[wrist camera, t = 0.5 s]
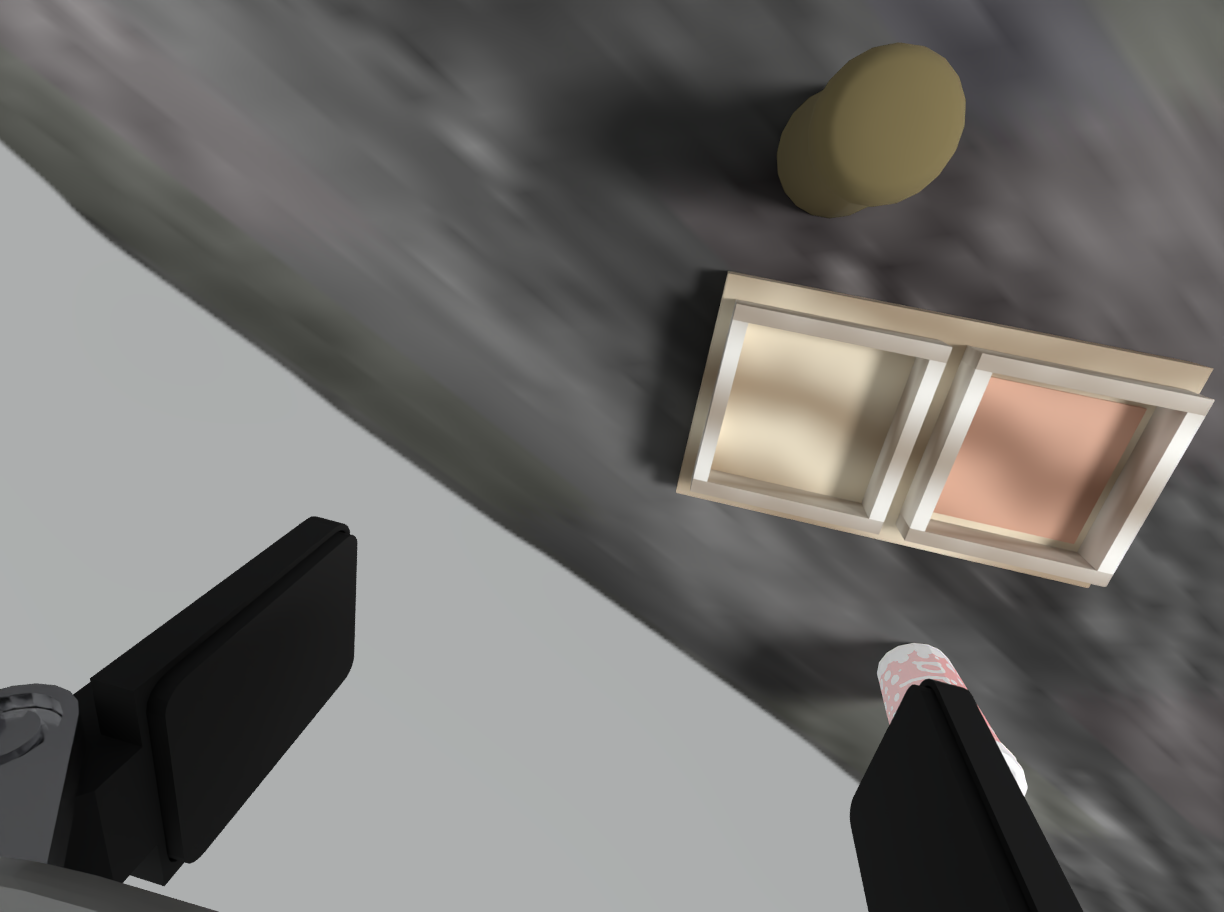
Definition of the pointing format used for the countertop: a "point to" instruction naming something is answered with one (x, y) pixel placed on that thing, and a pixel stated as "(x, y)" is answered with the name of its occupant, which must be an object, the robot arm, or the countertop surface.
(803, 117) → the cork
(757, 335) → the spice holder
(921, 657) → the beverage cup
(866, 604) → the countertop surface
